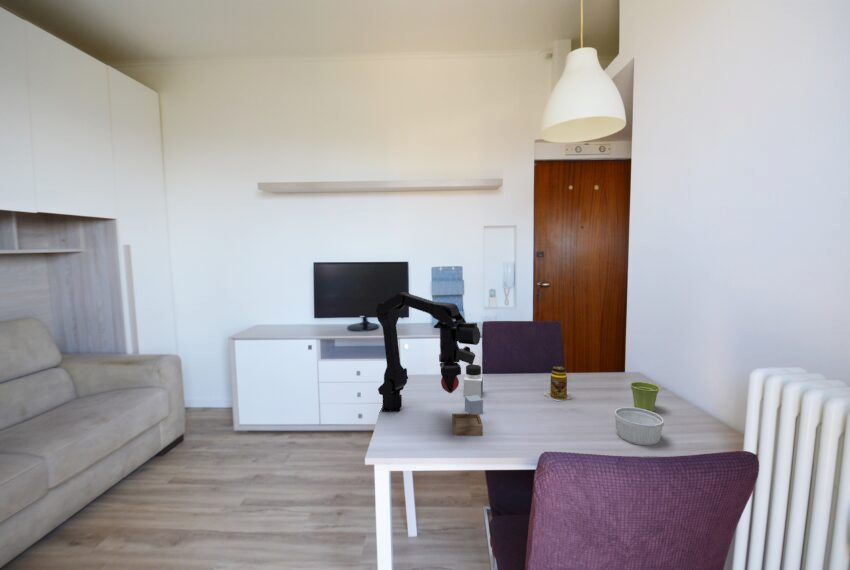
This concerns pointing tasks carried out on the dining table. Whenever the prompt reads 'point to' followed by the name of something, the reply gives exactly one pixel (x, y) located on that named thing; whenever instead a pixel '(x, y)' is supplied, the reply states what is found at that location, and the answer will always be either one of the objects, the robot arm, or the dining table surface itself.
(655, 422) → the ramekin
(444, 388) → the onion
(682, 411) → the dining table surface
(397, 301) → the robot arm
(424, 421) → the dining table surface
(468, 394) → the medicine bottle
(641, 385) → the plant pot
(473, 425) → the wooden square tray
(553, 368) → the condiment
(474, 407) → the slate cube
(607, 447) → the dining table surface
